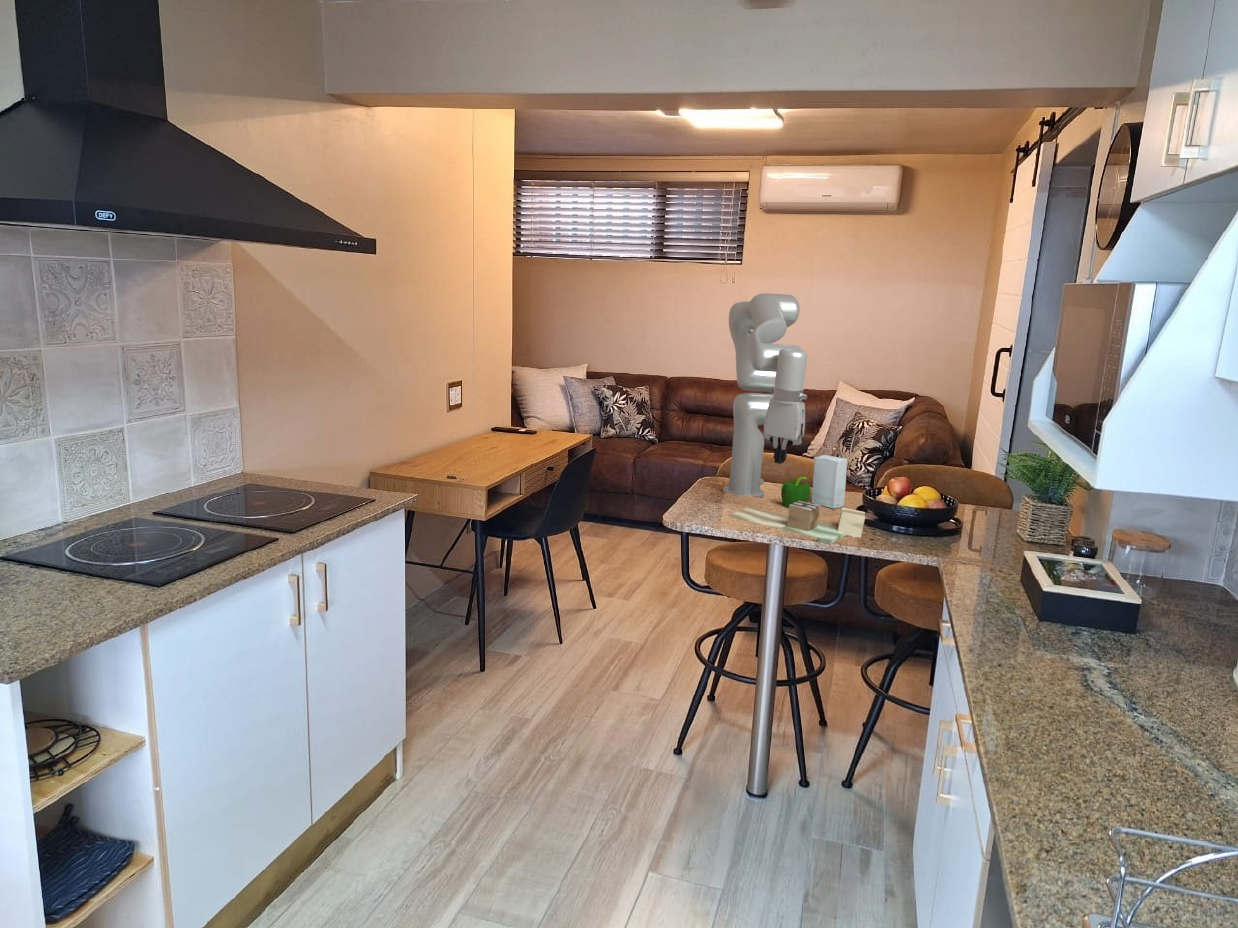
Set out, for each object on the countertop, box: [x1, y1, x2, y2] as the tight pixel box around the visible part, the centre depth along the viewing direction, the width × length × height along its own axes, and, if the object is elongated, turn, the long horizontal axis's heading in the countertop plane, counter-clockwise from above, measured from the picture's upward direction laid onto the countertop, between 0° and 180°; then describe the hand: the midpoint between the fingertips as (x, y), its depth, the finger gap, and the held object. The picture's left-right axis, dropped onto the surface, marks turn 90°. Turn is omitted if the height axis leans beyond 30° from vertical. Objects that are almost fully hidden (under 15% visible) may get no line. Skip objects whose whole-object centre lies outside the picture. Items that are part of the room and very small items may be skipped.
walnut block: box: [787, 501, 821, 531], centre depth 217 cm, size 6×6×6 cm
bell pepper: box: [780, 476, 812, 509], centre depth 238 cm, size 8×8×10 cm
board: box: [726, 506, 846, 545], centre depth 221 cm, size 14×30×1 cm, turn 55°
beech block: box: [837, 507, 866, 539], centre depth 217 cm, size 6×6×6 cm
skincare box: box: [811, 454, 848, 509], centre depth 245 cm, size 8×6×15 cm
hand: (779, 462), depth 220 cm, fingers closed
